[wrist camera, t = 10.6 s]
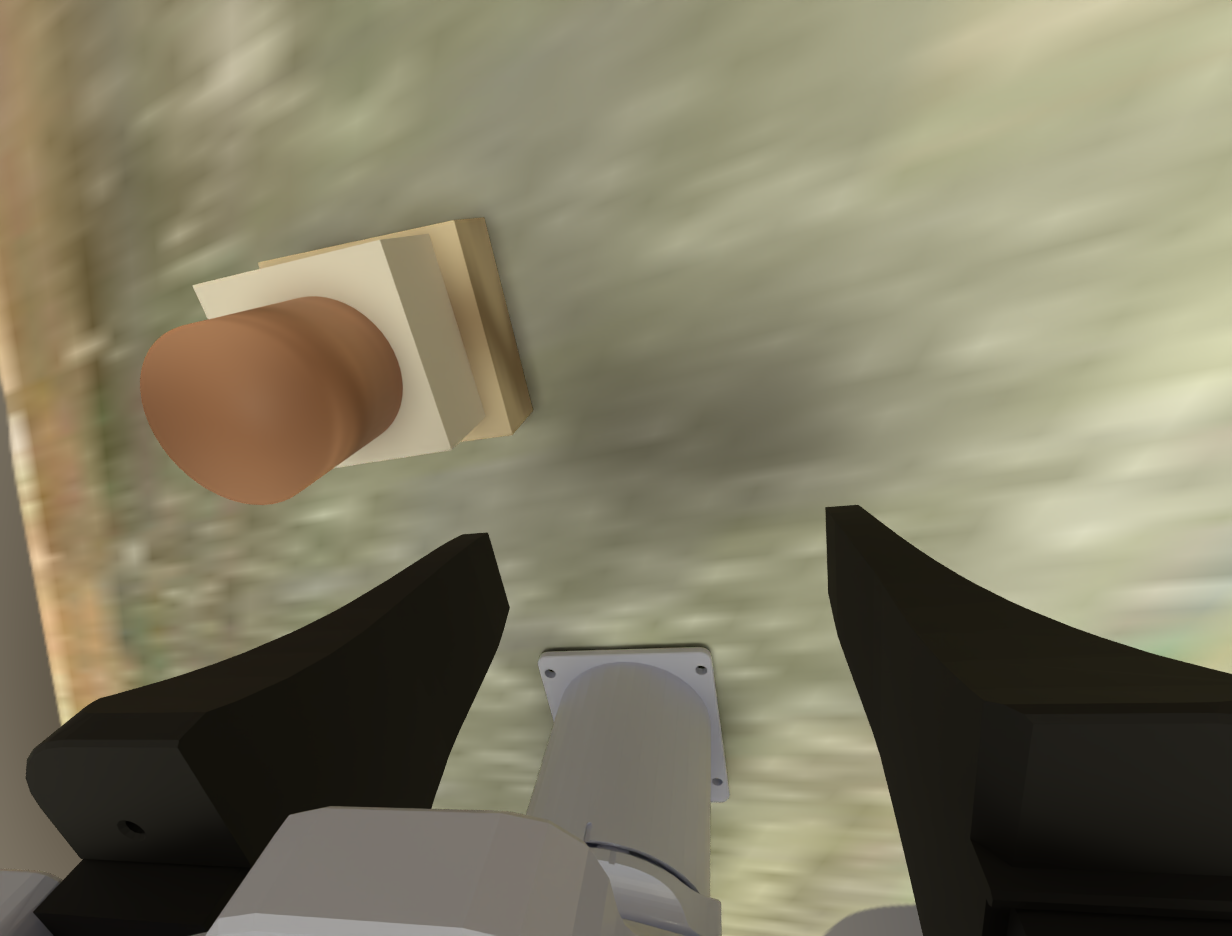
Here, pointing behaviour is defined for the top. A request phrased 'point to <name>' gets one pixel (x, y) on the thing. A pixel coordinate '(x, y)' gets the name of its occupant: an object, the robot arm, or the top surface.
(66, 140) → the top surface
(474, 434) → the tower base
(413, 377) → the tower top
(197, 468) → the cylinder
